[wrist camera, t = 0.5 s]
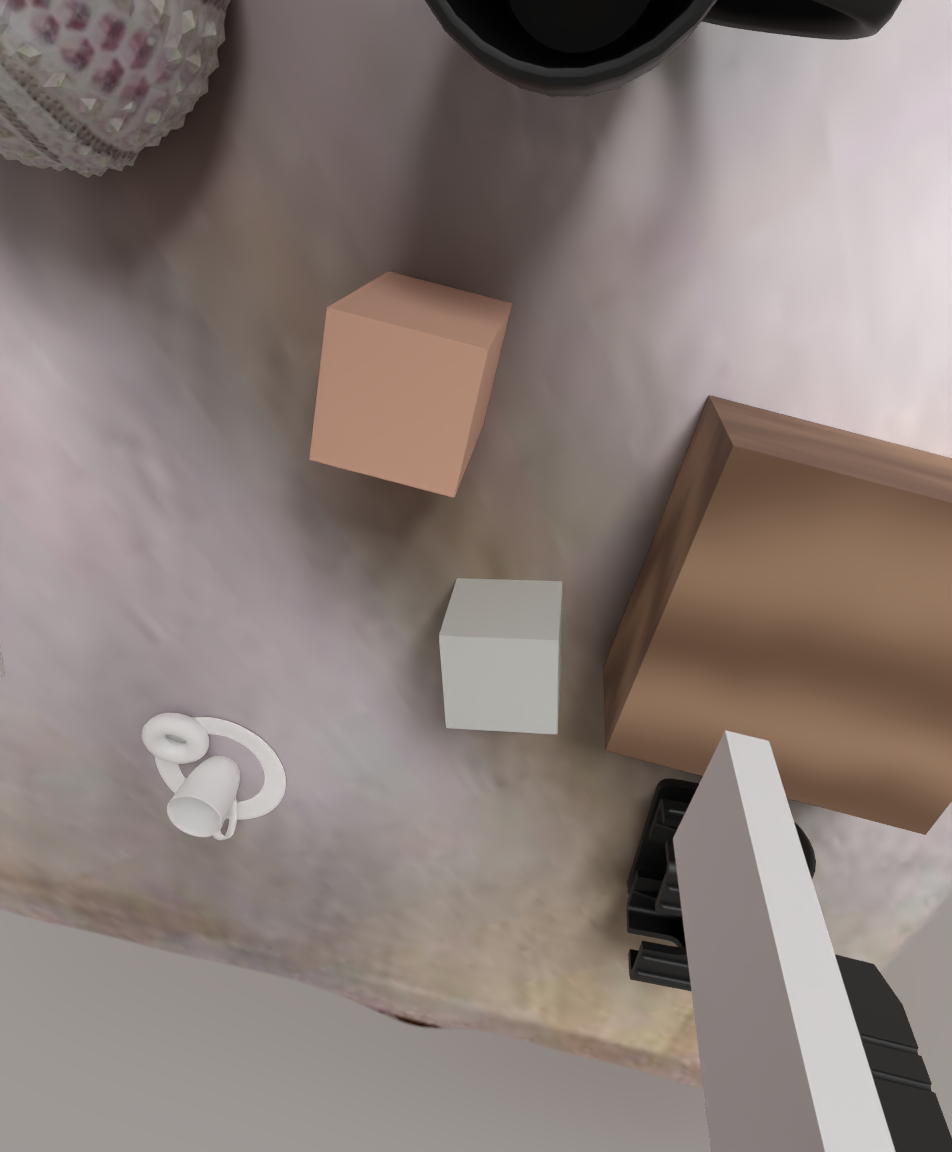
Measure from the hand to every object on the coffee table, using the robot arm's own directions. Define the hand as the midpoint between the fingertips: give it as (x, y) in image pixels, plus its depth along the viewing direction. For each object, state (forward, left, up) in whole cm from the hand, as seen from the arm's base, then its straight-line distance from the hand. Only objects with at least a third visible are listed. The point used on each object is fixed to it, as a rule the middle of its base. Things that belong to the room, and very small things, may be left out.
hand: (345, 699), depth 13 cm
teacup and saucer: (+23, -9, -21) cm, 33 cm away
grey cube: (+11, +4, -21) cm, 24 cm away
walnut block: (+5, +16, -21) cm, 26 cm away
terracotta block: (-1, -2, -21) cm, 21 cm away
